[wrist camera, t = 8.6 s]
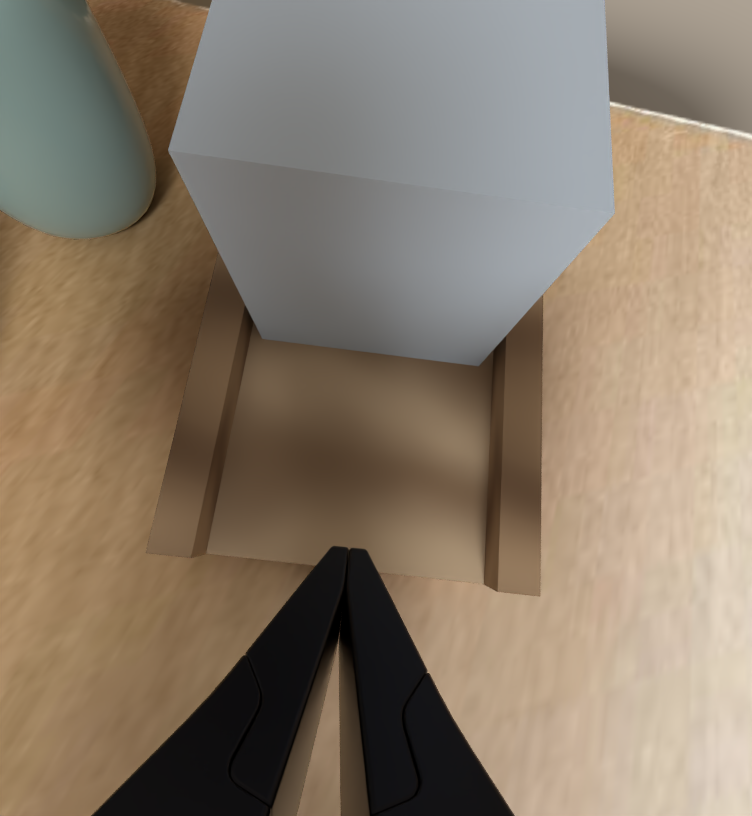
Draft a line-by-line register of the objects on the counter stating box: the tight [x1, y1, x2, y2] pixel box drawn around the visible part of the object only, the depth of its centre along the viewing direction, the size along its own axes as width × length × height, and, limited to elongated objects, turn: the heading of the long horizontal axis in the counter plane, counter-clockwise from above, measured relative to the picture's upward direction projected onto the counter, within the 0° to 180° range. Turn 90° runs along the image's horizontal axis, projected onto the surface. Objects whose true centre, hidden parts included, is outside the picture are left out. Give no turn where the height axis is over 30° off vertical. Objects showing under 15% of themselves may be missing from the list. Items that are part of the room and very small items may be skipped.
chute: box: [146, 251, 543, 596], centre depth 18 cm, size 22×14×3 cm, turn 174°
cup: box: [0, 0, 157, 240], centre depth 16 cm, size 8×8×10 cm
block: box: [168, 0, 615, 366], centre depth 15 cm, size 9×10×10 cm
